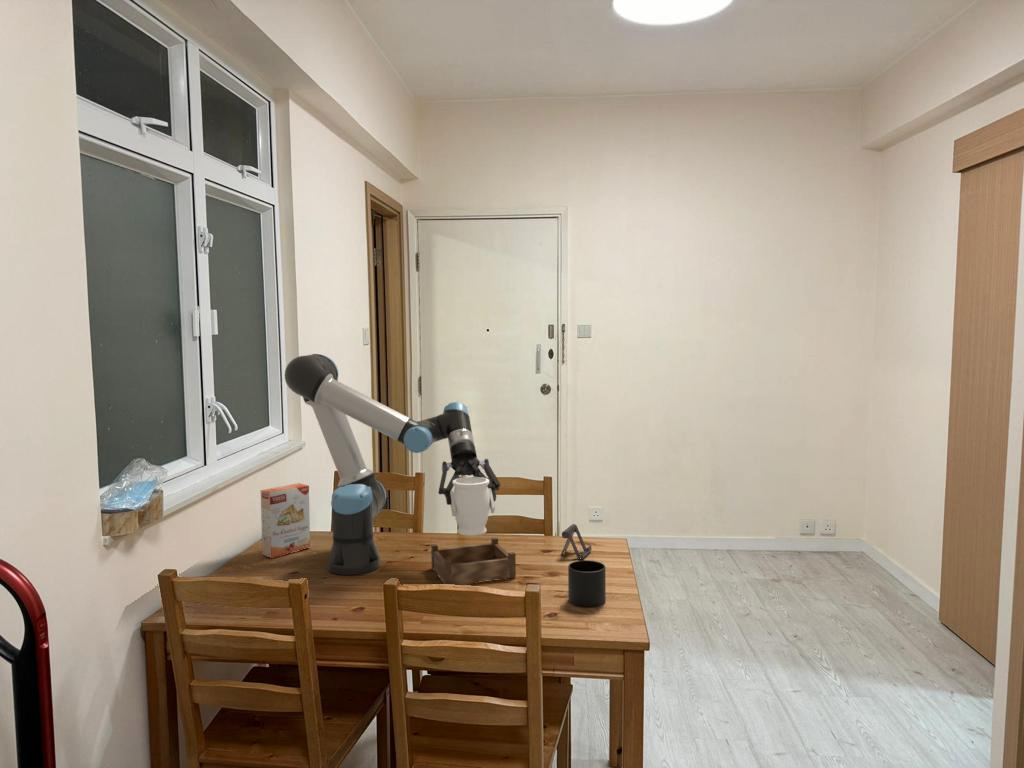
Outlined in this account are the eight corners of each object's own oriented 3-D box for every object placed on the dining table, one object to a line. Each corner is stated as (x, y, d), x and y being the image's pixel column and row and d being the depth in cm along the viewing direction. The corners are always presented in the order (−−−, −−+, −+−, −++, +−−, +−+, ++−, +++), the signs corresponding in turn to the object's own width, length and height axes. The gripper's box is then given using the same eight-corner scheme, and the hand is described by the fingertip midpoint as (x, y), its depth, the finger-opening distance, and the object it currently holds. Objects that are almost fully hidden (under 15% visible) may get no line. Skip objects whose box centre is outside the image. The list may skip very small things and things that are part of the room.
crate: (446, 587, 196) (445, 562, 196) (431, 568, 212) (431, 545, 211) (515, 578, 203) (515, 553, 202) (496, 560, 219) (496, 537, 218)
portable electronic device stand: (582, 560, 217) (582, 533, 217) (558, 557, 220) (557, 530, 220) (591, 552, 225) (591, 525, 225) (567, 549, 228) (567, 523, 228)
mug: (607, 591, 192) (607, 557, 191) (604, 608, 180) (604, 573, 179) (571, 589, 194) (571, 556, 193) (566, 606, 182) (566, 571, 181)
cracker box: (272, 560, 222) (269, 492, 220) (261, 556, 226) (259, 489, 224) (311, 548, 232) (309, 484, 231) (301, 545, 236) (298, 482, 235)
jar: (476, 539, 199) (475, 485, 198) (446, 534, 205) (444, 481, 203) (497, 530, 208) (496, 478, 207) (468, 525, 214) (467, 475, 212)
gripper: (424, 442, 211) (434, 508, 197) (501, 438, 217) (515, 501, 203) (423, 457, 217) (431, 522, 203) (497, 452, 223) (511, 515, 209)
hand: (473, 512), depth 203 cm, fingers closed on jar, 10 cm apart
